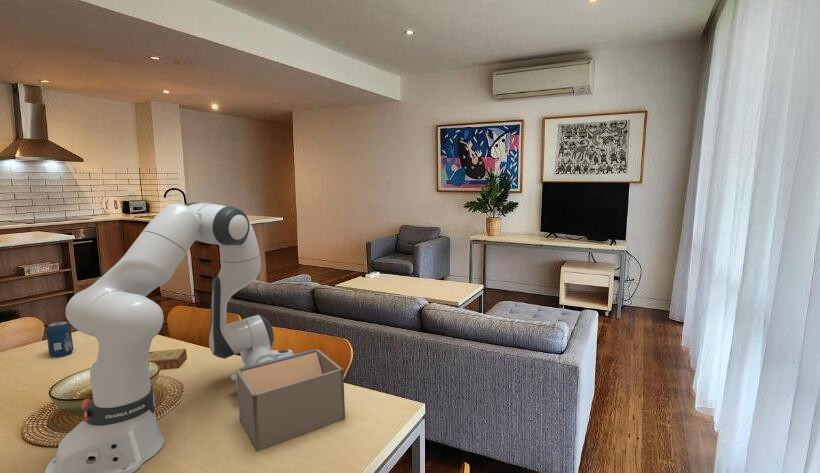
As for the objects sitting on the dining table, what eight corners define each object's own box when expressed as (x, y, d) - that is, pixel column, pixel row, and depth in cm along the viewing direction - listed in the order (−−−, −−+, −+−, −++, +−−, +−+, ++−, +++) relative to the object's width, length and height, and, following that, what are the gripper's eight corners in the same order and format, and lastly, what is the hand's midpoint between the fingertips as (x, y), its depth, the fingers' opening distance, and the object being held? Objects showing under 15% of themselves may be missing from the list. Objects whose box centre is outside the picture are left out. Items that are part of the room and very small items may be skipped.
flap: (251, 420, 106) (240, 367, 111) (250, 421, 107) (240, 368, 112) (328, 395, 118) (315, 348, 123) (327, 396, 119) (314, 349, 123)
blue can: (53, 352, 158) (49, 322, 156) (76, 349, 161) (72, 319, 159) (46, 360, 152) (42, 327, 150) (70, 356, 155) (66, 324, 153)
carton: (179, 369, 144) (178, 357, 143) (127, 374, 141) (125, 362, 140) (187, 359, 152) (186, 347, 151) (138, 363, 149) (136, 351, 148)
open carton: (256, 451, 100) (253, 396, 98) (239, 420, 113) (236, 370, 111) (345, 418, 113) (343, 369, 111) (320, 394, 126) (318, 349, 124)
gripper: (228, 365, 125) (240, 383, 114) (295, 348, 137) (312, 363, 125) (230, 385, 126) (241, 405, 115) (296, 366, 137) (313, 383, 126)
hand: (279, 383), depth 120 cm, fingers closed
